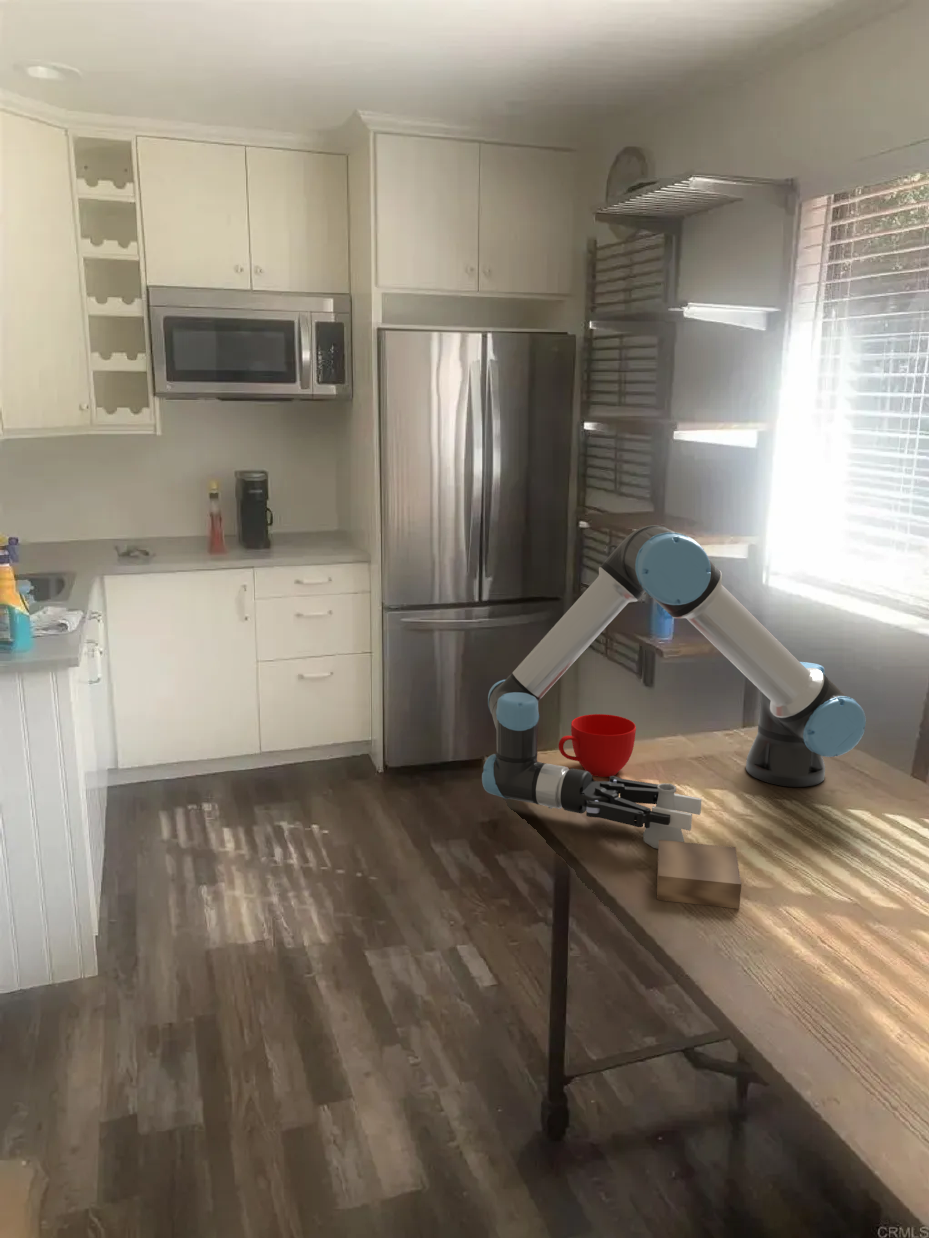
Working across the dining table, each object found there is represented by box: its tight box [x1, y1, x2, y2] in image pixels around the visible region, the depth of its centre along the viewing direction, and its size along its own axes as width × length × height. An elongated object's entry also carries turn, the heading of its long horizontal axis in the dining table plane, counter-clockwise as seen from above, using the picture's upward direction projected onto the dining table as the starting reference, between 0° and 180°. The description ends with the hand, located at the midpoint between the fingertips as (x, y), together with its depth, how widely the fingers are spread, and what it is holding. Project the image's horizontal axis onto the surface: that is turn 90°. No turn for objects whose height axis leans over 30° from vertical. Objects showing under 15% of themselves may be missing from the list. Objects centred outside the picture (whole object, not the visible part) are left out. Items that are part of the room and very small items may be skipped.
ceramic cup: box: [558, 713, 637, 778], centre depth 186 cm, size 13×17×10 cm
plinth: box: [656, 840, 742, 910], centre depth 143 cm, size 12×12×4 cm
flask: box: [642, 782, 685, 849], centre depth 156 cm, size 7×7×10 cm
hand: (695, 814), depth 154 cm, fingers open, 6 cm apart
